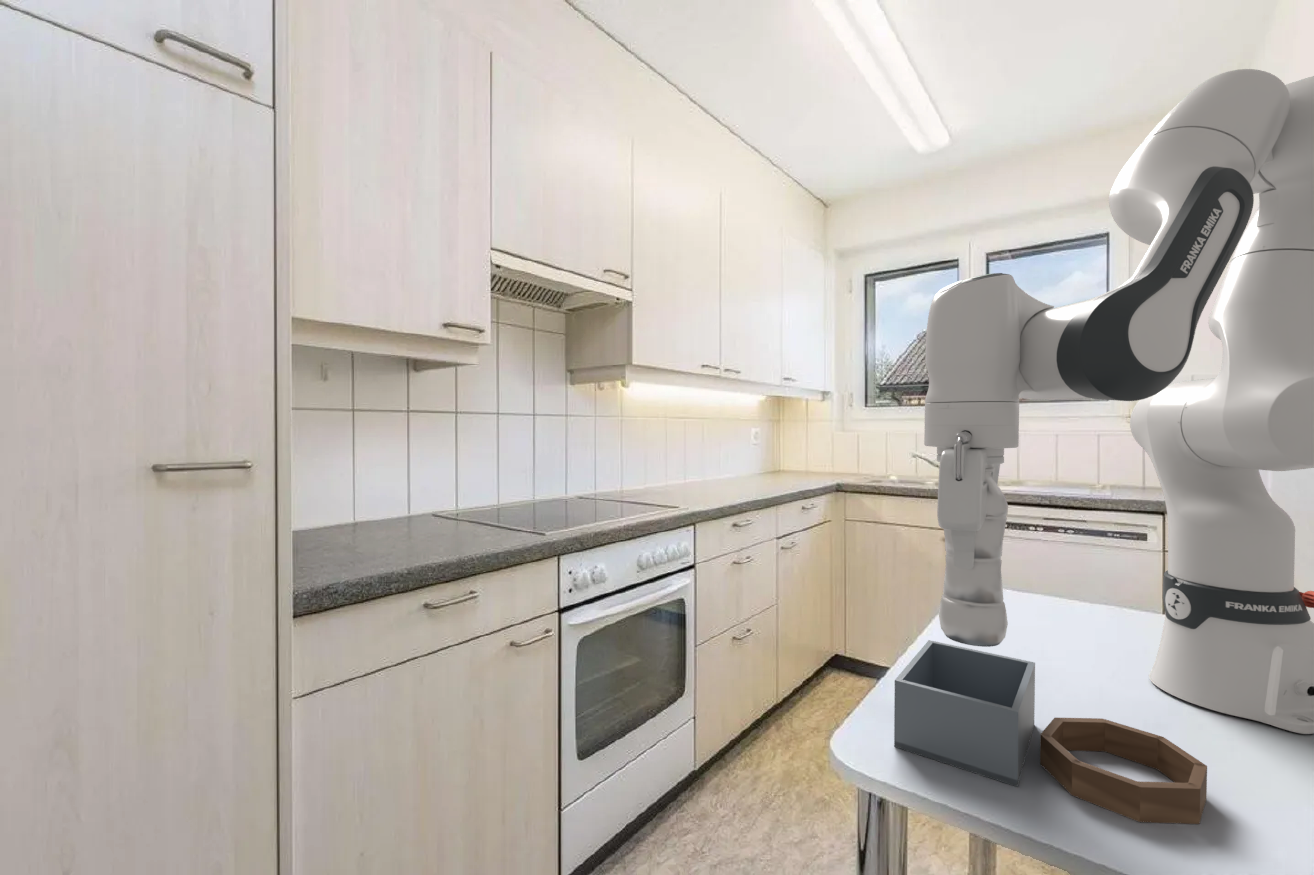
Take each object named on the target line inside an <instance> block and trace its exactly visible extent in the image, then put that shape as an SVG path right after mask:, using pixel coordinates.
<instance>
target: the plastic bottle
mask: <svg viewBox="0 0 1314 875" xmlns="http://www.w3.org/2000/svg"><path fill="white" fill-rule="evenodd" d="M991 472H994V468H993V464H988V467H987V468H986V469H985V482H987V500H986V518H985V521H984V523H983V524H982V526H981V528H980V530H979V531H976V539H975V564H974V567H973V568H972V569H962V568H957V567H956V566H955V565H954V549H953V543H952V537H951V530H950V529H943V534H944V549H945V569H944V570H945V571H944V580H943V590H942V592H943V594H942V595H941V599H940V603H939V609H938V619H939V625H940V630H941V631H942V632H943V634H944V636H945V637H946V638H948V639H950V640H951V641H954V642H956V643H960V644H963V645H968V646H974V647H987V648H988V647H989V648H991V647H997V646H998V645H1000V644H1001V643H1002V642H1003V641H1004V639H1005V638H1006V635H1007V630H1008V624H1009V623H1008V615H1007V614H1008V613H1007V607H1006V604H1005V602H1004V590H1003V588H1004V587H1003V578H1002V577H1003V575H1002V562H1003V561H1002V556H1003V546H1004V545H1003V544H1004V542H1003V541H1004V535H1005V529H1006V524H1007V516H1008V511H1009V509H1008V508H1009V505H1008V502H1007V498H1006V496H1005V494H1004V493H1003V490H1001V488H1000V487H999V484H998V483H997V484H996V483H995V482H994V480H993V479H992V477H991ZM956 481H962V479H961V480H957V478H956Z"/></svg>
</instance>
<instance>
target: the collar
mask: <svg viewBox="0 0 1314 875" xmlns="http://www.w3.org/2000/svg"><path fill="white" fill-rule="evenodd" d="M1039 738H1040V740H1039V742H1040V747H1039V765H1040V766H1041V767H1042V768H1043V769H1044V770H1046V772H1047V773H1048V774H1049V775H1050V776H1051V777H1052V778H1053V779H1055V781H1057V783H1059V784H1060V786H1062V787H1063V788H1064V789H1065V790H1066V791H1067V793H1069V794H1070V795H1071V796H1073V797H1075V798H1078V799H1080V800H1083V801H1086V802H1088V803H1091V804H1092V805H1093V804H1094V805H1096V806H1099V807H1101V808H1102V809H1106V810H1107V811H1111V812H1114V813H1115V814H1118V815H1120V816H1123V817H1126V818H1128V819H1131V820H1133V821H1136V822H1138V823H1159V824H1163V823H1164V824H1186V825H1189V824H1191V825H1194V824H1195V825H1200V824H1201V820H1202V816H1203V812H1204V809H1205V805H1206V801H1207V799H1208V798H1207V795H1208V794H1207V793H1208V792H1207V791H1208V790H1207V789H1208V788H1207V787H1208V786H1207V785H1208V782H1207V781H1208V766H1207V765H1206V764H1205V763H1203V762H1202V761H1200V760H1199V759H1197V758H1196V757H1195V756H1193V755H1191V754H1190V753H1188V752H1187V751H1185V750H1184V749H1182V748H1180V747H1179V746H1178V745H1177V744H1175V743H1173V742H1172V741H1170V740H1169V739H1168V738H1166V737H1164V736H1162V735H1158V734H1155V733H1152V732H1149V731H1145V730H1142V729H1139V728H1136V727H1132V726H1129V725H1126V724H1121V723H1118V722H1116V721H1111V720H1109V719H1106V718H1098V717H1097V718H1095V717H1094V718H1093V717H1091V718H1090V717H1089V718H1087V717H1054V718H1053V719H1052V720H1051V721H1050V722H1049V724H1048V725H1047V726H1046V727H1045V728H1044V730H1042V732H1041V733H1040V736H1039ZM1070 751H1074V752H1075V751H1078V752H1081V751H1082V752H1105V753H1108V754H1110V755H1114V756H1116V757H1117V756H1118V757H1120V758H1123V759H1125V760H1130V761H1131V762H1134V763H1139V764H1141V765H1143V766H1147V767H1150V768H1152V769H1156V770H1158V771H1159V772H1160V773H1162V774H1163V775H1164V776H1166V778H1169V780H1171V781H1172V782H1170V781H1169V782H1168V781H1162V782H1161V781H1137V780H1135V779H1132V778H1129V777H1126V776H1124V775H1120V774H1117V773H1115V772H1112V771H1109V770H1106V769H1103V768H1101V767H1098V766H1095V765H1093V764H1089V763H1088V762H1084V761H1081V760H1079V759H1078V758H1077V757H1076V756H1074V755H1073V754H1072V752H1070Z"/></svg>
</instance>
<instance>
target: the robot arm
mask: <svg viewBox="0 0 1314 875" xmlns="http://www.w3.org/2000/svg"><path fill="white" fill-rule="evenodd" d="M1116 176H1117V177H1116V178H1115V180H1114V182H1113V184H1112V187H1111V189H1110V193H1109V195H1108V207H1109V211H1110V215H1111V216H1112V218H1113V221H1114V222H1115V224H1116V226H1117V227H1118V228H1120V229H1121V231H1122V232H1124V233H1125V234H1126V235H1127V236H1129V237H1130V238H1133V240H1136V241H1138V242H1141V243H1143V244H1145V245H1149V247H1148V249H1147V251H1146V252H1145V254H1144V256H1143V257H1142V258H1141V260H1140V262H1139V264H1138V266H1137V268H1136V269H1135V271H1134V273H1133V274H1132V276H1131V277H1129V279H1128V280H1126V281H1125V282H1123V283H1122V284H1120V285H1119V286H1117V287H1115V288H1113V289H1111V290H1109V291H1106V292H1104V293H1102V294H1099V295H1097V296H1095V297H1091V298H1089V299H1085V300H1082V301H1081V300H1080V301H1078V302H1073V303H1070V304H1065V305H1062V306H1058V307H1055V306H1054V305H1050V304H1047V303H1045V302H1042V301H1041V300H1038V299H1036V298H1035V297H1033V296H1031V295H1029V293H1027V292H1025V291H1024V290H1023V289H1022V288H1021V287H1020V286H1018V284H1017V283H1016V280H1015V279H1014V277H1013V275H1012V274H1009V273H1003V272H995V273H987V274H982V275H977V276H972V277H970V278H967V279H966V278H965V279H962V280H958V281H956V282H954V283H951V284H948V285H946V286H945V287H942V288H941V289H939V291H938V292H936V293H935V295H934V296H933V299H932V301H931V304H930V307H929V313H928V317H927V323H926V325H927V326H926V336H925V359H924V360H925V368H926V370H927V374H928V387H927V388H928V389H927V392H926V395H925V400H924V433H923V434H924V440H923V442H924V443H923V444H924V446H926V447H930V448H931V447H933V448H936V462H939V468H938V485H937V486H938V487H937V489H938V490H937V523H938V527H940V529H943V530H944V529H950V530H951V537H952V543H953V549H954V565H955V566H956V567H957V568H962V569H972V568H973V567H974V564H975V539H976V531H979V530H980V528H981V526H982V524H983V523H984V521H985V518H986V500H987V482H985V469H986V468H987V467H988V464H993V468H994V472H991V477H992V479H993V480H994V482H995V483H996V484H997V485H998V481H999V476H1000V475H999V474H1000V468H1001V465H1003V464H1004V463H1005V456H1004V455H1005V449H1015V448H1016V449H1017V448H1018V447H1019V444H1020V443H1019V442H1020V440H1019V436H1020V435H1019V434H1020V433H1019V430H1020V428H1019V427H1020V399H1025V400H1030V401H1041V400H1042V401H1044V400H1045V401H1047V400H1056V401H1060V400H1061V401H1062V400H1083V399H1085V400H1087V399H1092V400H1101V401H1102V400H1106V401H1117V402H1119V401H1120V402H1121V401H1122V402H1135V401H1137V403H1135V405H1134V407H1133V409H1132V411H1131V414H1130V417H1129V418H1130V419H1129V428H1130V432H1131V434H1132V436H1133V439H1134V440H1135V441H1136V443H1137V444H1138V445H1139V446H1140V448H1142V449H1143V450H1144V452H1146V453H1147V455H1148V457H1149V458H1150V461H1151V463H1152V465H1153V468H1154V471H1155V473H1156V476H1157V479H1158V482H1159V485H1160V488H1161V491H1162V494H1163V499H1164V502H1165V503H1164V504H1165V509H1166V514H1167V515H1166V516H1167V545H1168V546H1167V570H1166V571H1164V572H1163V577H1162V578H1163V580H1162V601H1163V602H1162V603H1163V609H1164V614H1165V615H1164V621H1163V627H1162V632H1161V637H1160V642H1159V647H1158V649H1157V653H1156V656H1155V660H1154V663H1153V665H1152V668H1151V670H1150V671H1149V674H1148V678H1149V680H1150V681H1151V682H1152V683H1153V684H1154V685H1155V686H1156V687H1158V688H1159V689H1161V690H1163V691H1164V692H1166V693H1167V694H1169V695H1172V696H1174V697H1176V698H1178V699H1180V700H1183V701H1185V702H1188V703H1191V704H1193V705H1196V706H1199V707H1202V708H1205V709H1208V710H1211V711H1215V712H1218V713H1222V714H1226V715H1230V716H1235V717H1238V718H1243V719H1248V720H1252V721H1256V722H1260V723H1263V724H1267V725H1269V726H1270V725H1271V726H1272V727H1275V728H1279V729H1282V730H1286V731H1289V732H1293V733H1297V734H1303V735H1311V734H1314V622H1312V621H1311V620H1312V619H1311V616H1310V614H1309V611H1308V608H1311V609H1312V608H1313V609H1314V591H1313V590H1307V591H1305V592H1302V591H1300V590H1298V589H1297V588H1296V587H1295V555H1296V554H1295V553H1296V552H1295V550H1296V526H1295V524H1294V521H1293V520H1292V518H1291V516H1290V515H1289V514H1288V512H1286V511H1285V510H1284V509H1283V508H1281V506H1280V505H1278V504H1277V503H1276V502H1275V501H1274V499H1273V498H1272V497H1271V495H1270V493H1269V492H1268V490H1267V488H1266V486H1265V484H1264V482H1263V479H1262V476H1261V474H1260V471H1261V470H1262V471H1269V472H1289V471H1298V470H1306V469H1314V75H1312V76H1309V77H1307V78H1306V77H1305V78H1302V79H1300V80H1297V81H1296V80H1295V81H1293V82H1290V83H1286V84H1285V83H1284V81H1282V79H1280V78H1279V77H1278V76H1276V75H1275V74H1272V73H1270V72H1267V71H1265V70H1261V69H1253V68H1242V69H1235V70H1229V71H1225V72H1221V73H1219V74H1216V75H1214V76H1212V77H1210V78H1209V79H1207V80H1204V82H1202V83H1200V84H1199V85H1198V86H1196V87H1195V88H1194V89H1193V90H1191V91H1190V92H1189V93H1188V94H1187V95H1185V96H1184V97H1183V98H1182V99H1181V100H1180V101H1179V102H1178V103H1177V104H1176V105H1175V106H1174V107H1172V109H1171V110H1169V111H1168V112H1167V113H1166V115H1164V117H1163V118H1162V119H1161V120H1159V122H1157V124H1156V125H1155V126H1154V128H1153V129H1152V130H1151V131H1150V132H1149V133H1148V134H1147V136H1146V137H1145V138H1144V139H1143V140H1142V141H1141V143H1140V144H1139V145H1138V147H1137V148H1136V149H1135V151H1134V152H1133V153H1132V155H1131V156H1130V157H1129V159H1128V160H1127V161H1126V162H1125V164H1124V165H1123V167H1122V168H1121V170H1120V171H1119V173H1118V175H1116ZM1254 194H1258V198H1259V202H1258V204H1259V205H1258V207H1257V209H1255V212H1254V214H1253V213H1252V212H1253V208H1254V200H1255V199H1254V197H1255V196H1254ZM1252 214H1253V215H1252ZM1251 215H1252V217H1251ZM1227 266H1228V267H1227ZM1226 268H1227V270H1226V271H1225V269H1226ZM1224 271H1225V273H1224ZM1223 273H1224V274H1225V275H1224V276H1223V279H1222V282H1221V285H1220V287H1219V289H1218V293H1217V296H1216V298H1215V301H1214V303H1213V305H1212V308H1211V310H1210V314H1209V316H1208V322H1207V323H1208V328H1209V329H1210V332H1211V333H1212V334H1213V335H1214V336H1215V337H1216V338H1217V339H1219V340H1220V342H1221V345H1222V346H1221V347H1222V360H1221V366H1220V368H1219V369H1220V370H1219V372H1218V373H1217V375H1216V377H1214V378H1204V379H1203V378H1202V379H1191V380H1184V381H1183V380H1182V381H1178V382H1175V383H1172V382H1173V381H1174V380H1175V379H1176V378H1177V377H1178V375H1179V374H1180V373H1181V372H1182V370H1183V368H1184V367H1185V365H1186V363H1187V361H1188V359H1189V356H1190V354H1191V351H1192V348H1193V344H1194V343H1193V342H1194V340H1195V334H1196V330H1197V325H1198V323H1199V320H1200V318H1201V316H1202V314H1203V311H1204V309H1205V308H1206V305H1207V303H1208V301H1209V299H1210V298H1211V295H1212V294H1213V292H1214V290H1215V288H1216V286H1217V285H1218V282H1219V281H1220V278H1221V277H1222V275H1223ZM956 478H957V480H961V479H962V481H956Z"/></svg>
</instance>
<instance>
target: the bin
mask: <svg viewBox="0 0 1314 875" xmlns="http://www.w3.org/2000/svg"><path fill="white" fill-rule="evenodd" d="M1035 690H1036V662H1034V661H1030V660H1025V659H1019V658H1015V657H1010V656H1006V655H1001V654H996V653H992V652H987V651H982V650H978V649H973V648H968V647H963V646H959V645H954V644H949V643H944V642H939V641H936V640H935V641H934V640H929V639H928V640H927V641H926V643H925V644H924V645H923V646H922V647H921V649H920V650H919V651H918V652H917V653H916V654H915V656H914V657H913V658H912V659H911V661H910V662H909V663H908V664H907V665H906V666H905V667H904V668H903V670H902V671H901V672H900V673H899V674H898V675H897V677H896V678H895V679H894V706H893V708H894V709H893V710H894V718H893V719H894V724H893V726H894V729H893V731H894V733H893V735H894V736H893V738H894V739H893V740H894V742H893V746H894V747H895V748H898V749H900V750H904V751H906V752H909V753H913V754H916V755H919V756H921V757H925V758H928V759H932V760H934V761H937V762H940V763H944V764H946V765H950V766H953V767H955V768H959V769H962V770H964V771H968V772H970V773H974V774H977V775H980V776H983V777H986V778H989V779H992V780H996V781H998V782H1001V783H1004V784H1007V785H1011V786H1014V787H1017V788H1018V786H1019V782H1020V779H1021V776H1022V771H1023V768H1024V764H1025V760H1026V757H1027V752H1028V749H1029V746H1030V742H1031V738H1032V735H1033V730H1034V727H1035V703H1036V702H1035V700H1036V699H1035V698H1036V696H1035V695H1036V694H1035V693H1036V691H1035Z"/></svg>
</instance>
